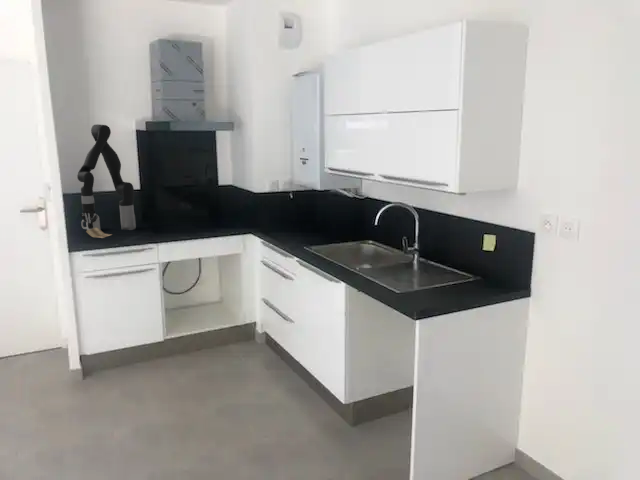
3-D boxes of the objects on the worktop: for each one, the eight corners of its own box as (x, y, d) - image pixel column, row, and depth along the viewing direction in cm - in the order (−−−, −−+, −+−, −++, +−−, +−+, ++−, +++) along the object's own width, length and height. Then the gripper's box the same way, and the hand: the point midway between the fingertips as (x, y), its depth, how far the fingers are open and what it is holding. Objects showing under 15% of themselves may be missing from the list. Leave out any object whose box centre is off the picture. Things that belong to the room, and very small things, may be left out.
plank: (96, 228, 350) (96, 227, 350) (104, 235, 350) (104, 233, 349) (85, 231, 341) (86, 230, 340) (94, 238, 340) (94, 236, 340)
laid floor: (95, 235, 352) (95, 232, 352) (113, 236, 348) (113, 234, 348) (84, 238, 342) (84, 236, 341) (102, 240, 338) (102, 238, 338)
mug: (102, 231, 363) (101, 215, 360) (98, 234, 354) (96, 218, 352) (84, 231, 362) (83, 216, 359) (80, 234, 354) (78, 218, 351)
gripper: (100, 201, 341) (103, 227, 345) (83, 200, 344) (86, 226, 349) (92, 203, 334) (95, 230, 338) (75, 202, 337) (78, 229, 341)
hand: (90, 228), depth 343 cm, fingers closed
